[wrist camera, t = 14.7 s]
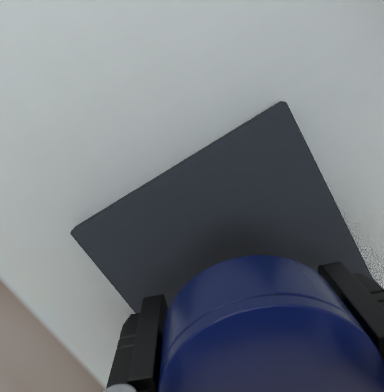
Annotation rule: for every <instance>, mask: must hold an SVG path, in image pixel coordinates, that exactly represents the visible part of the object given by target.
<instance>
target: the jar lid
mask: <svg viewBox="0 0 384 392" xmlns="http://www.w3.org/2000/svg"><path fill="white" fill-rule="evenodd" d="M158 392H384V362H383V359H382V356H381V354H380V352H379V350H378V348H377V346H376V345H375V344H374V342H373V341H372V340H371V338H370V337H369V335H368V334H367V333H366V332H365V330H364V329H363V328H362V326H361V325H360V324H359V322H358V321H357V320H356V318H355V317H354V316H353V314H352V313H351V312H350V310H349V309H348V308H347V306H346V305H345V304H344V302H343V301H342V300H341V298H340V297H339V296H338V295H337V293H336V292H335V291H334V289H333V288H332V287H331V285H330V284H329V283H328V282H327V281H326V280H325V279H324V278H323V277H322V276H321V275H320V274H318V273H317V272H316V271H314V270H313V269H311V268H309V267H307V266H306V265H304V264H302V263H299V262H297V261H294V260H291V259H287V258H283V257H278V256H270V255H250V256H242V257H237V258H233V259H229V260H226V261H222V262H220V263H218V264H215V265H213V266H211V267H209V268H208V269H206V270H204V271H202V272H201V273H199V274H198V275H196V276H195V277H194V278H193V279H191V280H190V281H189V282H188V283H187V284H186V285H185V286H184V287H183V288H182V289H181V291H180V292H179V293H178V294H177V295H176V297H175V299H174V300H173V302H172V303H171V305H170V307H169V310H168V312H167V315H166V318H165V322H164V329H163V338H162V349H161V360H160V371H159V383H158Z"/></svg>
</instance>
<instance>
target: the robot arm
mask: <svg viewBox="0 0 384 392" xmlns="http://www.w3.org/2000/svg"><path fill="white" fill-rule="evenodd" d="M318 274H320V275H321V276H322V277H323V278H324V279H325V280H326V281H327V282H328V283H329V284H330V285H331V287H332V288H333V289H334V291H335V292H336V293H337V295H338V296H339V297H340V298H341V300H342V301H343V302H344V304H345V305H346V306H347V308H348V309H349V310H350V312H351V313H352V314H353V316H354V317H355V318H356V320H357V321H358V322H359V324H360V325H361V326H362V328H363V329H364V330H365V332H366V333H367V334H368V335H369V337H370V338H371V340H372V341H373V342H374V344H375V345H376V346H377V348H378V350H379V352H380V354H381V356H382V359H383V362H384V289H383V288H382V287H381V286H380V285H379V284H378V283H377V282H376V281H375V280H373V279H371V278H369V277H367V276H365V275H364V274H362V273H354V274H352V273H351V272H350V271H349V270H348V269H347V267H346V266H345V265H344V264H343V263H342V262H340V261H339V262H334V263H329V264H323V265H319V266H318ZM167 312H168V307H167V303H166V299H165V296H164V295H163V294H160V295H155V296H150V297H144V298H143V301H142V306H141V311H140V313H135V314H131V315H130V316H129V318H128V319H127V321H126V322H125V323H124V325H123V327H122V331H121V334H120V340H119V342H118V346H117V350H116V353H115V357H114V361H113V365H112V368H111V372H110V376H109V380H108V383H107V387H106V389H105V390H103V391H102V392H158V383H159V371H160V360H161V349H162V338H163V329H164V322H165V318H166V315H167Z"/></svg>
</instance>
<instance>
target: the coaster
mask: <svg viewBox="0 0 384 392" xmlns="http://www.w3.org/2000/svg"><path fill="white" fill-rule="evenodd" d="M71 235H72V236H73V237H74V239H75V240H76V241H77V242H78V244H79V245H80V246H81V247H82V248H83V250H84V251H85V252H86V253H87V254H88V256H89V257H90V258H91V259H92V261H93V262H94V263H95V264H96V265H97V267H98V268H99V269H100V270H101V272H102V273H103V274H104V275H105V276H106V278H107V279H108V280H109V281H110V282H111V284H112V285H113V286H114V287H115V289H116V290H117V291H118V292H119V293H120V295H121V296H122V297H123V298H124V299H125V301H126V302H127V303H128V304H129V306H130V307H131V308H132V309H133V310H134V312H135V313H140V311H141V306H142V301H143V298H144V297H150V296H155V295H160V294H163V295H164V296H165V299H166V303H167V307H168V310H169V307H170V305H171V303H172V302H173V300H174V299H175V297H176V295H177V294H178V293H179V292H180V291H181V289H182V288H183V287H184V286H185V285H186V284H187V283H188V282H189V281H190V280H191V279H193V278H194V277H195V276H196V275H198V274H199V273H201V272H202V271H204V270H206V269H208V268H209V267H211V266H213V265H215V264H218V263H220V262H222V261H226V260H229V259H233V258H237V257H242V256H250V255H270V256H278V257H283V258H287V259H291V260H294V261H297V262H299V263H302V264H304V265H306V266H307V267H309V268H311V269H313V270H314V271H316V272H317V273H318V266H319V265H323V264H329V263H334V262H339V261H340V262H342V263H343V264H344V265H345V266H346V267H347V269H348V270H349V271H350V272H351V273H352V274H354V273H362V274H364V275H365V276H367V277H369V278H371V279H373V278H372V276H371V274H370V272H369V270H368V268H367V266H366V264H365V262H364V260H363V258H362V256H361V254H360V252H359V250H358V248H357V246H356V244H355V242H354V240H353V237H352V235H351V233H350V231H349V229H348V227H347V225H346V223H345V221H344V219H343V217H342V215H341V213H340V211H339V209H338V207H337V205H336V203H335V201H334V199H333V197H332V195H331V193H330V191H329V189H328V187H327V184H326V182H325V180H324V178H323V176H322V174H321V172H320V170H319V168H318V166H317V164H316V162H315V160H314V158H313V156H312V154H311V152H310V150H309V148H308V146H307V144H306V142H305V140H304V138H303V136H302V134H301V132H300V129H299V127H298V125H297V123H296V121H295V119H294V117H293V115H292V113H291V111H290V109H289V107H288V105H287V103H286V102H283V101H281V102H279V103H277V104H275V105H274V106H272V107H270V108H269V109H267V110H266V111H264V112H262V113H261V114H259V115H257V116H256V117H254V118H252V119H251V120H249V121H248V122H246V123H244V124H243V125H241V126H239V127H238V128H236V129H234V130H233V131H231V132H230V133H228V134H226V135H225V136H223V137H221V138H220V139H218V140H216V141H215V142H213V143H212V144H210V145H208V146H207V147H205V148H203V149H202V150H200V151H198V152H197V153H195V154H194V155H192V156H190V157H189V158H187V159H185V160H184V161H182V162H181V163H179V164H177V165H176V166H174V167H172V168H171V169H169V170H167V171H166V172H164V173H163V174H161V175H159V176H158V177H156V178H154V179H153V180H151V181H149V182H148V183H146V184H145V185H143V186H141V187H140V188H138V189H136V190H135V191H133V192H131V193H130V194H128V195H127V196H125V197H123V198H122V199H120V200H118V201H117V202H115V203H113V204H112V205H110V206H109V207H107V208H105V209H104V210H102V211H100V212H99V213H97V214H95V215H94V216H92V217H91V218H89V219H87V220H86V221H84V222H82V223H81V224H79V225H78V226H76V227H75V228H74V229H73V230H72V231H71Z"/></svg>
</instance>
